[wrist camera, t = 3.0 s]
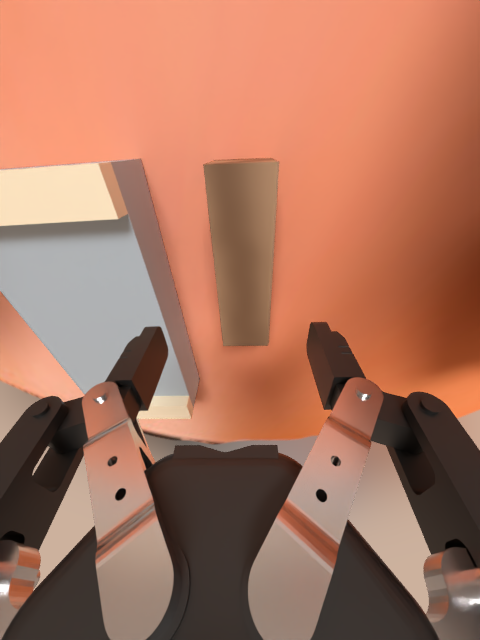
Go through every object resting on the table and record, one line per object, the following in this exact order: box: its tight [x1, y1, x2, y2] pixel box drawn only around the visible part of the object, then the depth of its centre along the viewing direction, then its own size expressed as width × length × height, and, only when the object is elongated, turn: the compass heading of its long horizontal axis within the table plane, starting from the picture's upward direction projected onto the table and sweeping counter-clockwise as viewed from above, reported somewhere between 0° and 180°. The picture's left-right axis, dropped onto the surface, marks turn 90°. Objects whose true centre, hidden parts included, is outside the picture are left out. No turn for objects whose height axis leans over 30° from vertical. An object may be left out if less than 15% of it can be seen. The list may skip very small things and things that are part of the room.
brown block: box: [203, 158, 279, 346], centre depth 20 cm, size 4×15×6 cm, turn 2°
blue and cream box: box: [0, 159, 200, 419], centre depth 24 cm, size 14×28×6 cm, turn 3°
